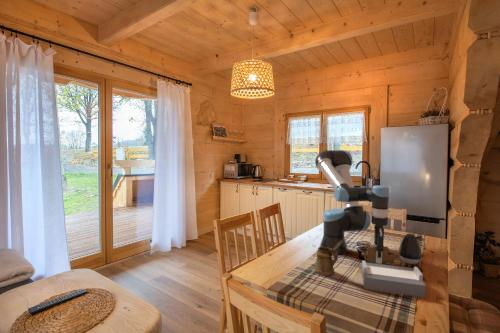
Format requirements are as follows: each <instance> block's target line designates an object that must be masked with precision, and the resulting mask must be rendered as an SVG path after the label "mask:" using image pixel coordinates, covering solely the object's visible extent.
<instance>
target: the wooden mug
mask: <svg viewBox="0 0 500 333" xmlns="http://www.w3.org/2000/svg"><path fill="white" fill-rule="evenodd" d="M342 242H343V240H340V241H339V242H338V243H336V244H335V245H334V247H333V248H332V249H330V248H328V247H320V246H319V247H318V248H317V251H316V260H315V265H314V269H313V271H314V273H316V274H317V275H319V276H324V277H326V276H331V275H333V274H334V273H335V268H334V265H335V264H336V263H337V262H338V260H339V256H338V255H339V254H337V251H336V249H337V248H338V247H339V246H340V244H341V243H342Z"/></svg>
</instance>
